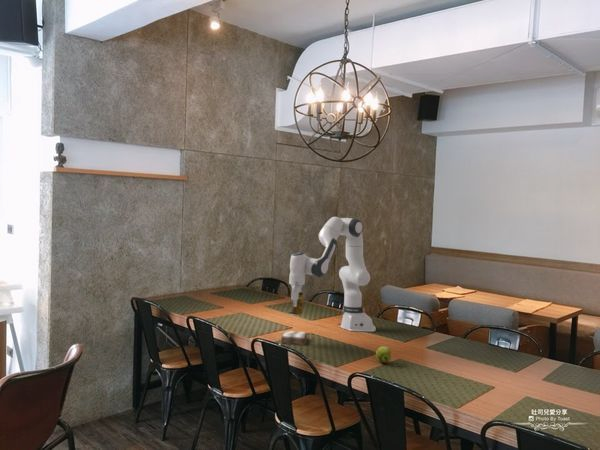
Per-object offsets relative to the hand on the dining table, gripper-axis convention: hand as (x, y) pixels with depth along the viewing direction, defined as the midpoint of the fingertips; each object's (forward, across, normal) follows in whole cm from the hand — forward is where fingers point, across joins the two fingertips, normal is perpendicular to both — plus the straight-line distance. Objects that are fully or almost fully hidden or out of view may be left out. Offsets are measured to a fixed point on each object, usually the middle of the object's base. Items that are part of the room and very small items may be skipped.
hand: (295, 305), depth 283 cm
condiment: (+5, 0, 0) cm, 5 cm away
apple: (+21, -27, -48) cm, 59 cm away
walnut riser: (+20, 0, 0) cm, 20 cm away
